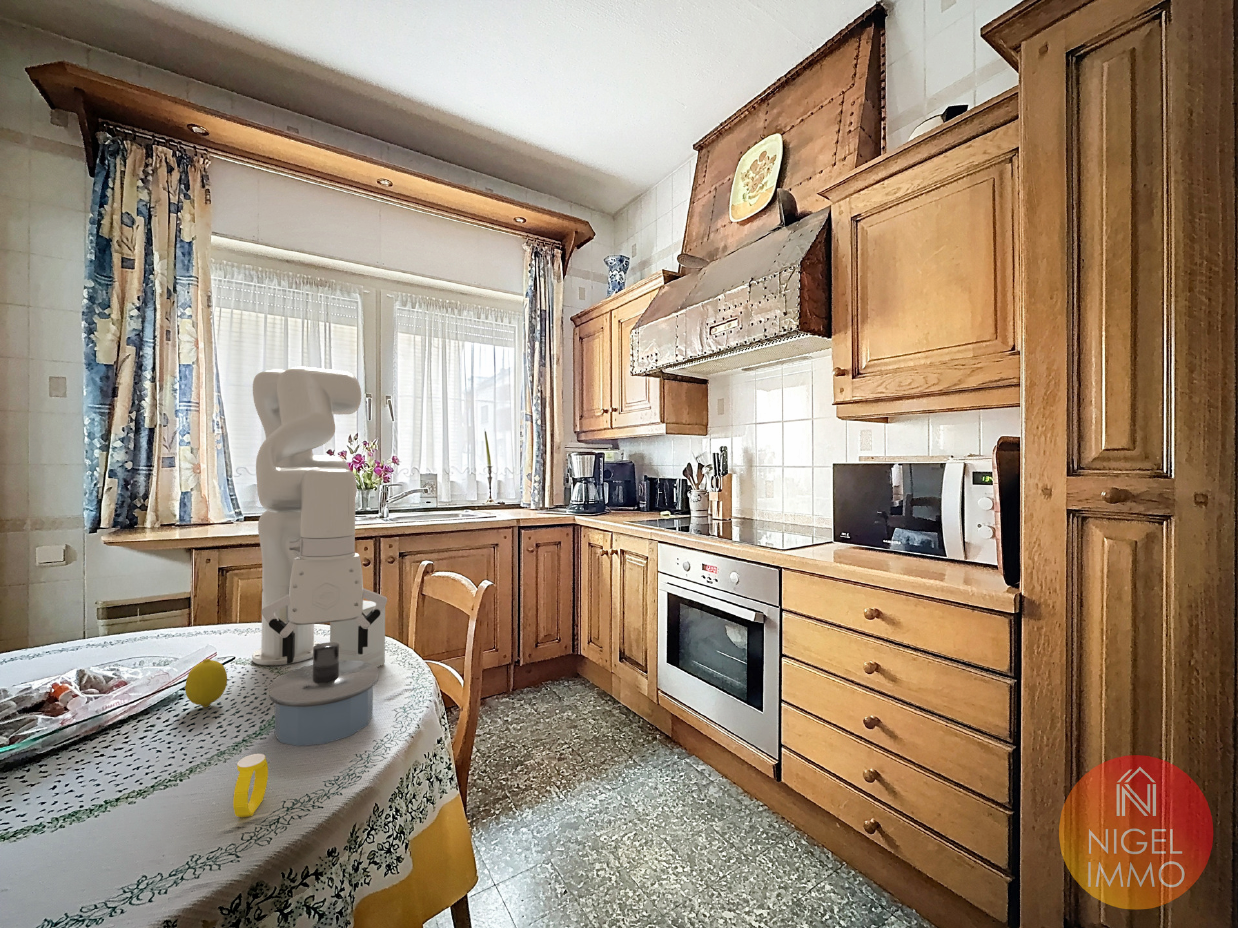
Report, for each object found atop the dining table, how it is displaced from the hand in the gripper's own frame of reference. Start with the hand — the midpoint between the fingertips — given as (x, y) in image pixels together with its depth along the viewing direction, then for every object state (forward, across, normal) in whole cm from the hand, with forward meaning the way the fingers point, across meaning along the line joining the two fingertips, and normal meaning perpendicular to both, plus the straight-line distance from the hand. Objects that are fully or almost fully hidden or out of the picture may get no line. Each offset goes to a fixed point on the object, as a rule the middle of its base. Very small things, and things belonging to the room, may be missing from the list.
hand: (326, 656), depth 84 cm
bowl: (+11, 0, 0) cm, 11 cm away
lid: (+5, 0, 0) cm, 5 cm away
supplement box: (+11, +4, +24) cm, 26 cm away
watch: (+11, -7, -20) cm, 24 cm away
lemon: (+11, -18, +14) cm, 26 cm away
